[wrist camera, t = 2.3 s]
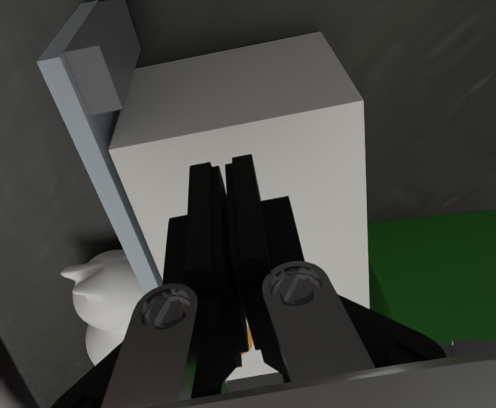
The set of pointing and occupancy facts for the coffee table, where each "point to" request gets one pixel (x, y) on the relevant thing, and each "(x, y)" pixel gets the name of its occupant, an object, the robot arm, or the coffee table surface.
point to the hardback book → (436, 274)
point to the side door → (100, 110)
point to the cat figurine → (104, 299)
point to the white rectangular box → (254, 149)
